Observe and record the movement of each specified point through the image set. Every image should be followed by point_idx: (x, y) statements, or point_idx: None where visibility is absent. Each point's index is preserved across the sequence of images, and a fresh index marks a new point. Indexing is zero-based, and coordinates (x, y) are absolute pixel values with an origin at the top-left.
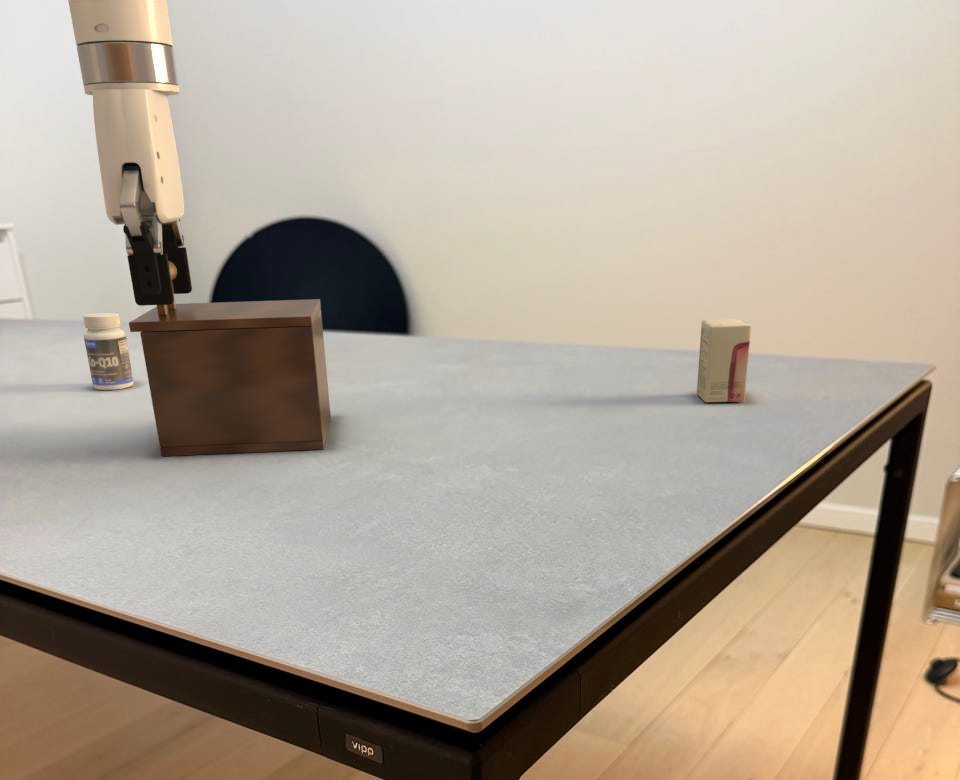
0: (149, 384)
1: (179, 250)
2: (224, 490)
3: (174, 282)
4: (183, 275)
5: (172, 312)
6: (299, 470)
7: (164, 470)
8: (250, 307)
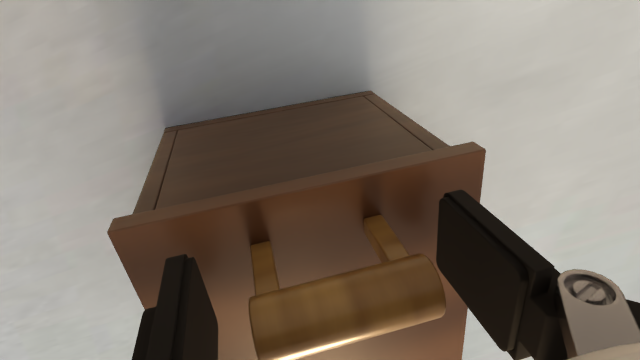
0: (146, 178)
1: (503, 345)
2: (16, 270)
3: (451, 253)
4: (459, 287)
5: (306, 251)
6: (129, 311)
7: (90, 161)
8: (365, 358)
